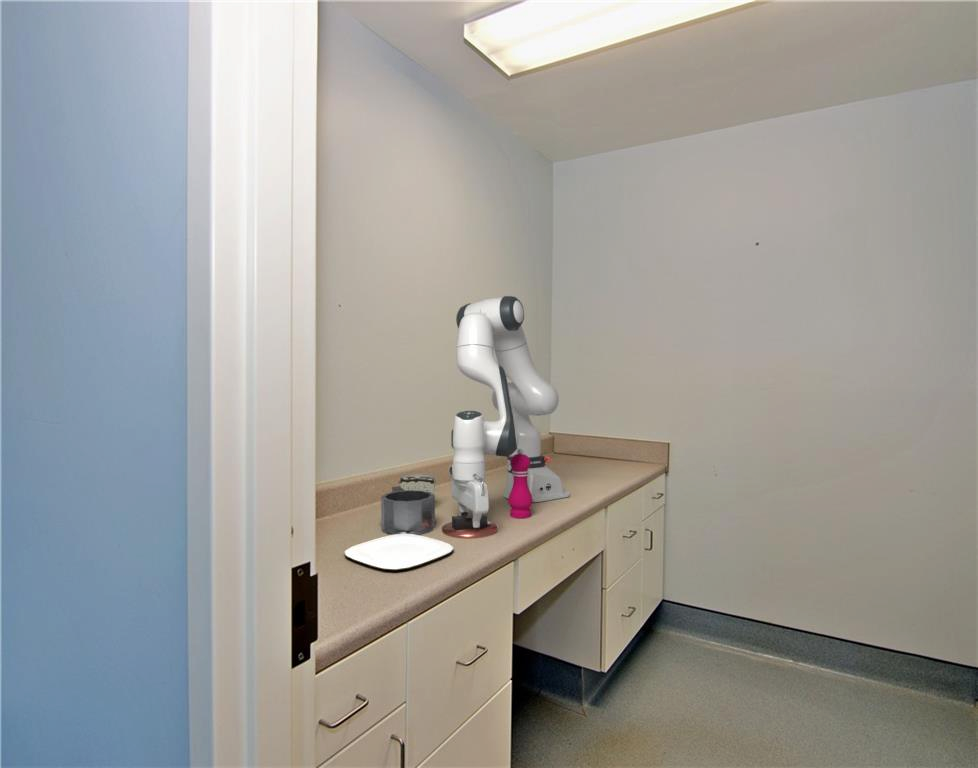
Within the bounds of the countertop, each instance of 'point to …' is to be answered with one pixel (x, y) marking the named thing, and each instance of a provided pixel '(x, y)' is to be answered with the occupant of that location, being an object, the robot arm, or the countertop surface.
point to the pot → (407, 512)
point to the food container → (418, 482)
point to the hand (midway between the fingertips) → (469, 522)
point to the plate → (398, 551)
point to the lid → (469, 527)
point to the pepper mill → (520, 487)
